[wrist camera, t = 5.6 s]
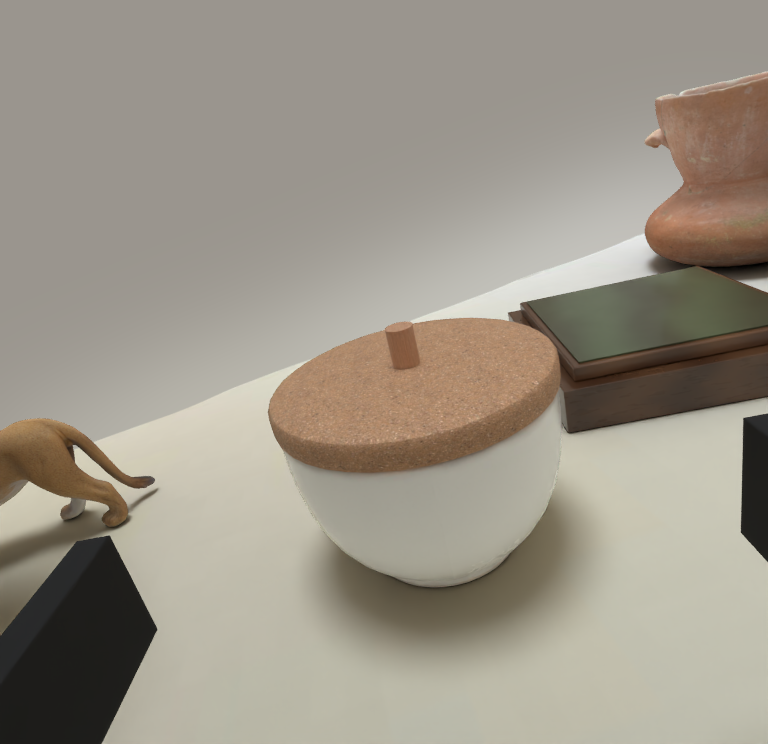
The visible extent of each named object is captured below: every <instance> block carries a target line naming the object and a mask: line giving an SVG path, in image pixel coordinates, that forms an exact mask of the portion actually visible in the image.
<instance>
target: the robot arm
mask: <svg viewBox="0 0 768 744" xmlns="http://www.w3.org/2000/svg"><path fill="white" fill-rule="evenodd" d="M741 533H742V534H743V535H744V536H745V538H746V539H747V540H748V541H749V542H750V543H751V544H752V545H753V546H754V547H755V548H756V550H757V551H758V552H759V553H760V554H761V555H762V556H763V557H764V558H765V559H766V561H767V562H768V414H763V415H758V416H752V417H747V418H744V419H743V464H742V509H741ZM156 631H157V627H156V625H155V623H154V621H153V619H152V618H151V616H150V614H149V612H148V610H147V608H146V606H145V604H144V602H143V600H142V598H141V596H140V594H139V592H138V590H137V588H136V586H135V584H134V582H133V580H132V578H131V576H130V574H129V573H128V571H127V569H126V567H125V565H124V563H123V561H122V559H121V557H120V555H119V553H118V551H117V549H116V547H115V545H114V543H113V541H112V539H111V537H110V535H109V536H104V537H99V538H93V539H88V540H82V541H77V542H76V543H75V544H74V546H73V547H72V548H71V549H70V551H69V552H68V553H67V554H66V556H65V557H64V558H63V559H62V561H61V562H60V563H59V564H58V565H57V567H56V568H55V569H54V570H53V572H52V573H51V574H50V575H49V577H48V578H47V579H46V580H45V582H44V583H43V584H42V585H41V587H40V588H39V589H38V590H37V592H36V593H35V594H34V595H33V597H32V598H31V599H30V600H29V602H28V603H27V604H26V605H25V606H24V608H23V609H22V610H21V611H20V613H19V614H18V615H17V616H16V618H15V619H14V620H13V621H12V623H11V624H10V625H9V626H8V628H7V629H6V630H5V631H4V633H3V634H2V635H1V636H0V744H102V742H103V740H104V738H105V736H106V733H107V731H108V729H109V727H110V725H111V723H112V721H113V719H114V717H115V715H116V713H117V711H118V709H119V707H120V705H121V703H122V701H123V699H124V697H125V695H126V693H127V691H128V689H129V686H130V684H131V682H132V680H133V678H134V676H135V674H136V672H137V670H138V668H139V666H140V664H141V662H142V660H143V658H144V656H145V654H146V652H147V650H148V648H149V646H150V644H151V642H152V639H153V637H154V635H155V633H156Z"/></svg>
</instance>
